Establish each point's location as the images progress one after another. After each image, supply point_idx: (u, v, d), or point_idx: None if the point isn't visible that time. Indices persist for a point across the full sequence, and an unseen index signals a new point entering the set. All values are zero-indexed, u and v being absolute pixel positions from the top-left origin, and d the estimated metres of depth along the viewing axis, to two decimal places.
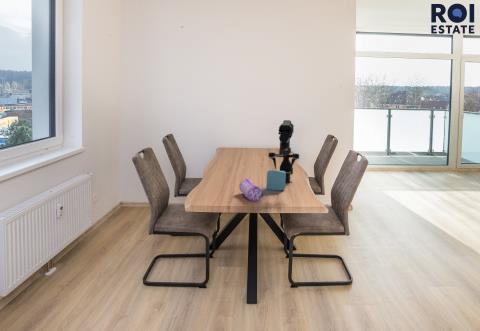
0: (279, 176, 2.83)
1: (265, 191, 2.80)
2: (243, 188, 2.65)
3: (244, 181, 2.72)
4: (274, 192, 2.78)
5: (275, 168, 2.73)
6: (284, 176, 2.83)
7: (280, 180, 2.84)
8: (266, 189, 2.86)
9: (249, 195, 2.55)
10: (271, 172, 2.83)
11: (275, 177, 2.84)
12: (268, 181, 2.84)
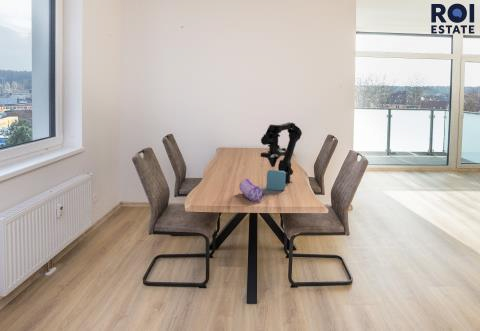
0: (279, 176, 2.83)
1: (265, 191, 2.80)
2: (243, 188, 2.65)
3: (244, 181, 2.72)
4: (274, 192, 2.78)
5: (272, 166, 2.94)
6: (284, 176, 2.83)
7: (280, 180, 2.84)
8: (266, 189, 2.86)
9: (250, 195, 2.55)
10: (271, 172, 2.83)
11: (275, 177, 2.84)
12: (268, 181, 2.84)
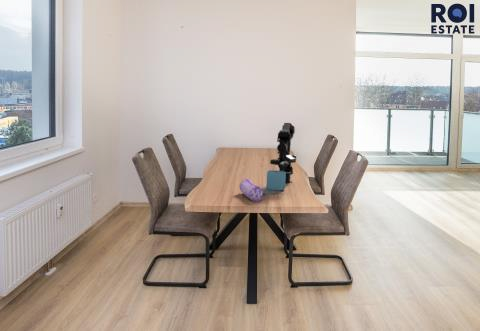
0: (279, 176, 2.83)
1: (265, 191, 2.80)
2: (244, 188, 2.65)
3: (244, 181, 2.72)
4: (274, 192, 2.78)
5: None
6: (284, 176, 2.83)
7: (280, 180, 2.84)
8: (266, 189, 2.86)
9: (250, 195, 2.55)
10: (271, 172, 2.83)
11: (275, 177, 2.83)
12: (268, 181, 2.84)
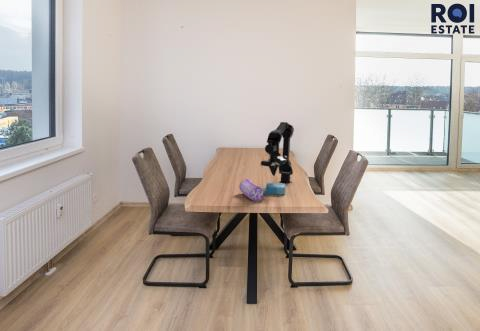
0: None
1: (265, 191, 2.80)
2: (244, 188, 2.65)
3: (244, 181, 2.72)
4: None
5: (274, 174, 2.83)
6: None
7: None
8: None
9: (251, 195, 2.55)
10: (270, 193, 2.74)
11: None
12: None
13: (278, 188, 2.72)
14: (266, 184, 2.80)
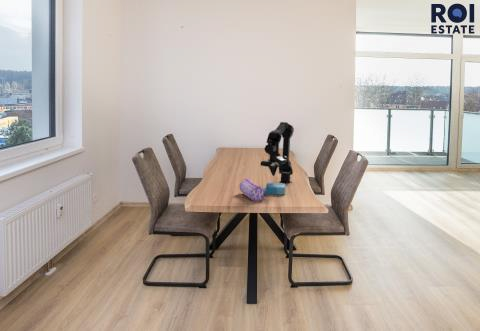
0: None
1: (265, 191, 2.80)
2: (244, 188, 2.65)
3: (244, 181, 2.72)
4: None
5: (273, 175, 2.83)
6: None
7: None
8: None
9: (251, 195, 2.55)
10: (270, 193, 2.74)
11: None
12: None
13: (278, 188, 2.72)
14: (266, 184, 2.80)
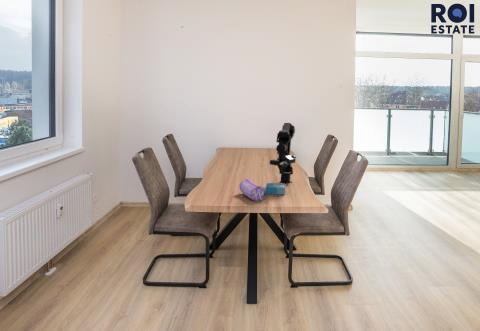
0: None
1: (265, 191, 2.80)
2: (244, 188, 2.65)
3: (244, 181, 2.72)
4: None
5: (282, 173, 2.89)
6: None
7: None
8: None
9: (252, 195, 2.55)
10: (270, 193, 2.74)
11: None
12: None
13: (278, 188, 2.72)
14: (266, 184, 2.80)
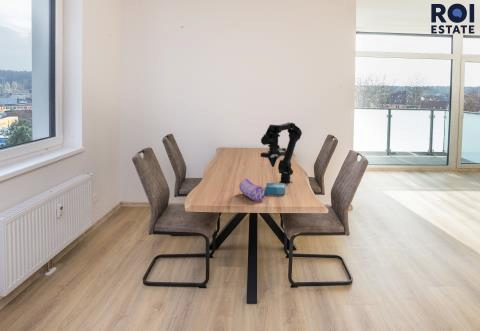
0: None
1: (265, 191, 2.80)
2: (244, 188, 2.65)
3: (244, 181, 2.72)
4: None
5: (273, 166, 2.95)
6: None
7: None
8: None
9: (252, 195, 2.55)
10: (270, 193, 2.74)
11: None
12: None
13: (278, 188, 2.72)
14: (266, 184, 2.80)
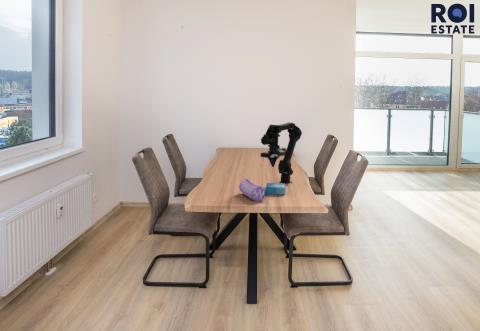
0: None
1: (265, 191, 2.80)
2: (244, 188, 2.65)
3: (244, 181, 2.72)
4: None
5: (273, 166, 2.95)
6: None
7: None
8: None
9: (253, 195, 2.55)
10: (270, 193, 2.74)
11: None
12: None
13: (278, 188, 2.72)
14: (266, 184, 2.80)
